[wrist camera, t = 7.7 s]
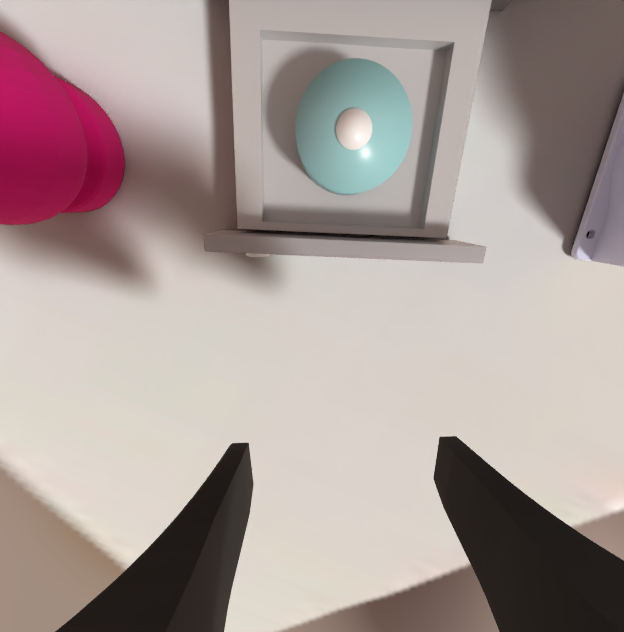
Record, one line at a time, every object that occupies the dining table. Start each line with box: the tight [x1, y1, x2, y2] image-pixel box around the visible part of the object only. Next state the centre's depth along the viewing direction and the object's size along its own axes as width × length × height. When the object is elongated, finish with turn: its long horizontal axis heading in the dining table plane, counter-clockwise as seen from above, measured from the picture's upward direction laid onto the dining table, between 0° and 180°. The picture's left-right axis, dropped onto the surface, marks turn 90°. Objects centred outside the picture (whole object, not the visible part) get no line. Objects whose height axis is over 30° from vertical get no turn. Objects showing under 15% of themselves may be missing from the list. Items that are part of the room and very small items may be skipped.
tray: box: [204, 0, 492, 263], centre depth 14 cm, size 14×14×3 cm
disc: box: [295, 58, 412, 196], centre depth 14 cm, size 5×5×2 cm
